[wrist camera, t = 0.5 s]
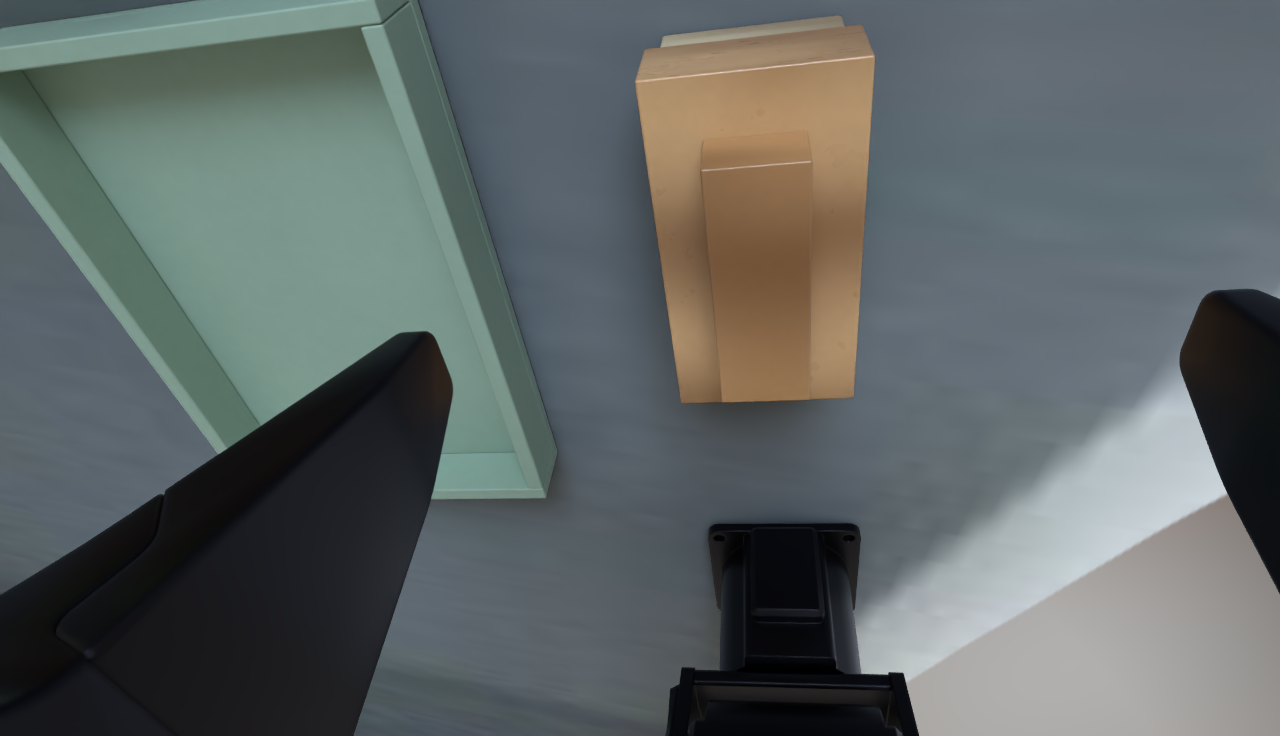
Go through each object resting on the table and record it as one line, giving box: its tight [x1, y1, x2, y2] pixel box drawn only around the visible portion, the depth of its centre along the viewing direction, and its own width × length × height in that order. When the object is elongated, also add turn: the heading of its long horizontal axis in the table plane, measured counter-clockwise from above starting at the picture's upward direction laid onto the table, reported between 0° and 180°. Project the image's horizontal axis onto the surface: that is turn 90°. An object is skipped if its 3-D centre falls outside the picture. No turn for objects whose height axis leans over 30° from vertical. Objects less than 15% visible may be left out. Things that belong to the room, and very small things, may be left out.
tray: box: [0, 0, 558, 499], centre depth 25 cm, size 18×13×2 cm
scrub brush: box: [635, 15, 875, 403], centre depth 20 cm, size 10×5×5 cm, turn 8°
